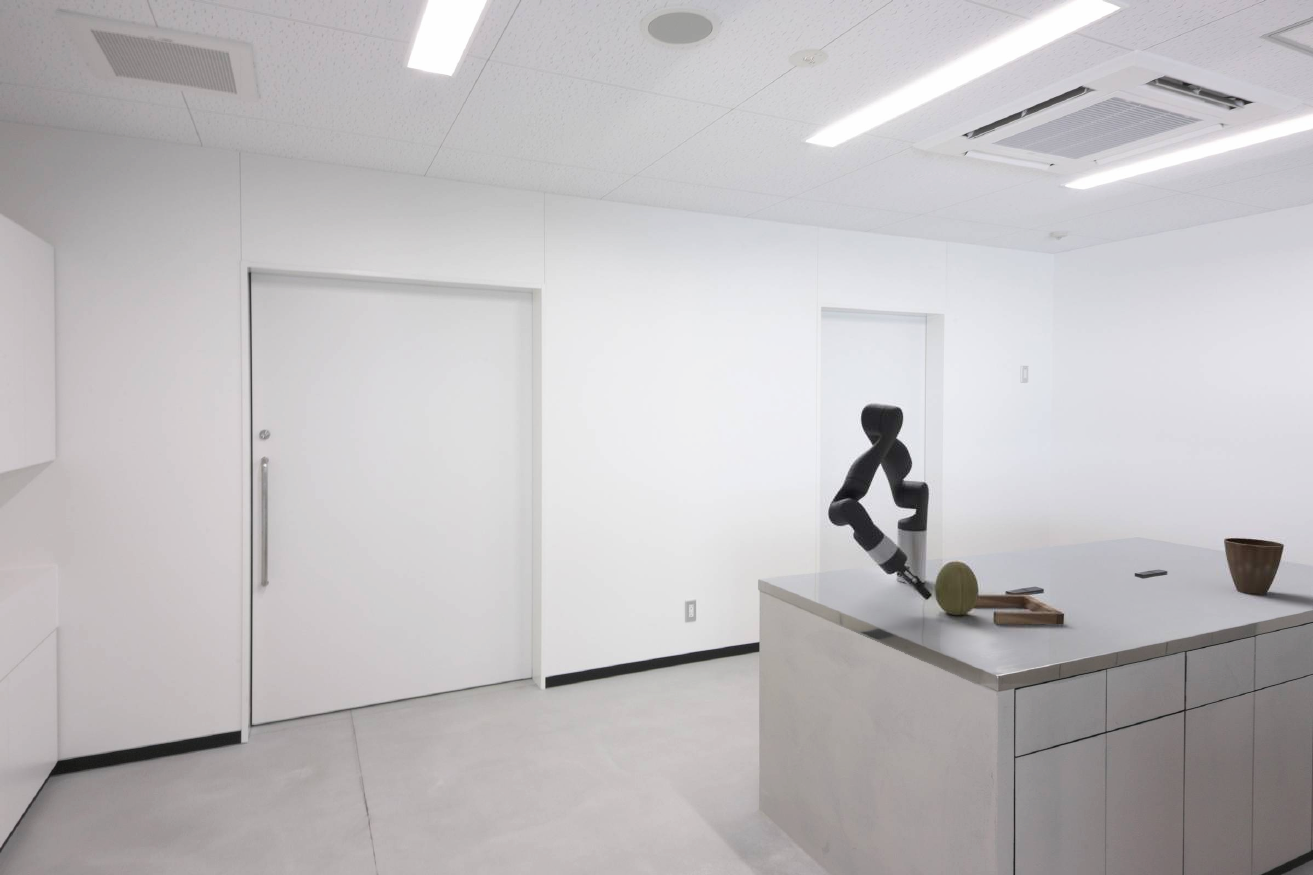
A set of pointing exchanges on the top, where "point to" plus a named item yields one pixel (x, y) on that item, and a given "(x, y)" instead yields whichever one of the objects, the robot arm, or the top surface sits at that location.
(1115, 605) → the top surface
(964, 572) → the fruit
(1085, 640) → the top surface
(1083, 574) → the top surface
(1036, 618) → the walnut bay
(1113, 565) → the top surface
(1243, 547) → the plant pot
